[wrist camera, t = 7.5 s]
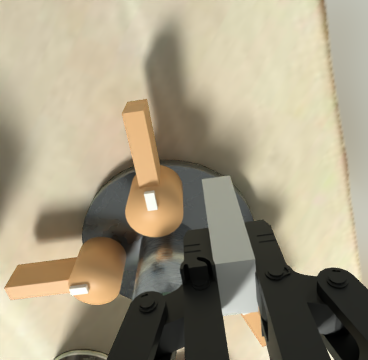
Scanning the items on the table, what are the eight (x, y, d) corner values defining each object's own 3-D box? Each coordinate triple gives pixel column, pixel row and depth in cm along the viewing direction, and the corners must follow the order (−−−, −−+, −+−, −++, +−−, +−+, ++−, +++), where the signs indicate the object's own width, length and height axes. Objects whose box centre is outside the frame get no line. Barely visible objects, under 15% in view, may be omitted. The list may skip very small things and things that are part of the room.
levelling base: (49, 225, 36) (2, 310, 27) (183, 123, 31) (186, 180, 22) (160, 317, 43) (155, 411, 33) (284, 245, 38) (321, 331, 28)
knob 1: (120, 233, 35) (112, 266, 31) (130, 269, 37) (124, 304, 33) (15, 247, 35) (-7, 281, 31) (31, 282, 38) (13, 318, 33)
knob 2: (185, 206, 33) (187, 236, 29) (137, 212, 34) (131, 243, 29) (166, 93, 28) (165, 110, 24) (109, 102, 29) (98, 120, 24)
